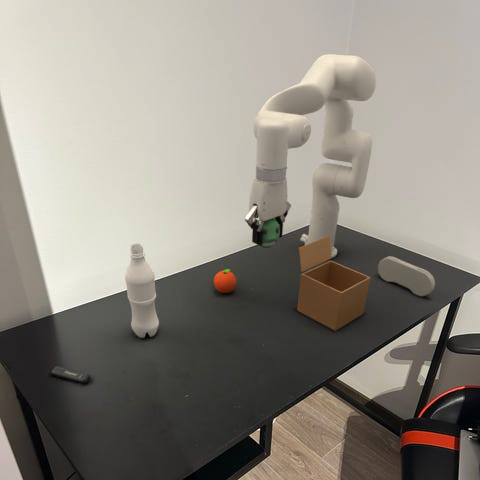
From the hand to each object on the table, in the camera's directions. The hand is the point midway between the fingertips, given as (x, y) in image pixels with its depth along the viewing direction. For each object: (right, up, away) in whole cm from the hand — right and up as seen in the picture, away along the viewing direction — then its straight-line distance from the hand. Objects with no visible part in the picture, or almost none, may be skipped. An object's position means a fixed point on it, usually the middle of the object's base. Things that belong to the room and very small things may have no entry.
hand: (267, 239), depth 122 cm
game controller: (+45, -11, +24) cm, 52 cm away
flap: (+14, -3, +6) cm, 15 cm away
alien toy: (0, -2, +1) cm, 3 cm away
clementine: (-12, -13, +19) cm, 26 cm away
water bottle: (-32, -25, -1) cm, 41 cm away
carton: (+19, -19, +10) cm, 29 cm away
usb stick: (-47, -35, -17) cm, 61 cm away
